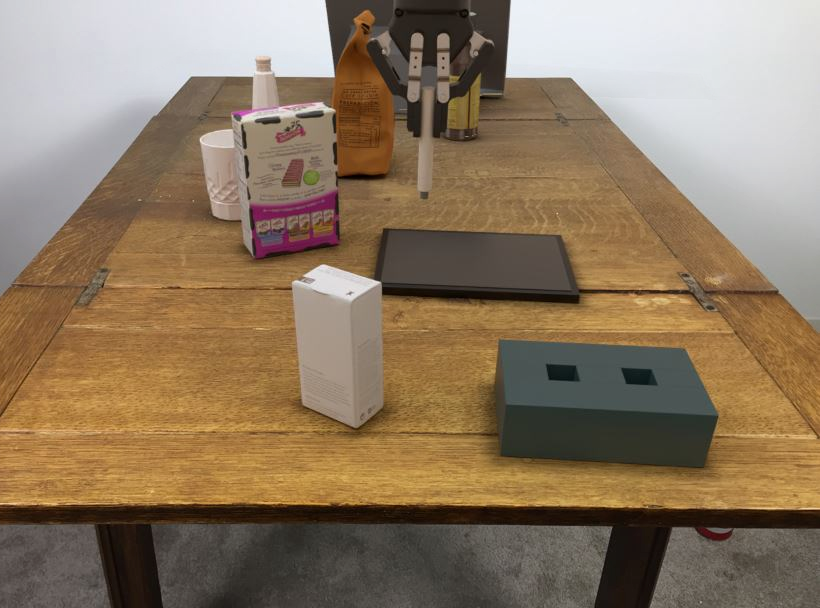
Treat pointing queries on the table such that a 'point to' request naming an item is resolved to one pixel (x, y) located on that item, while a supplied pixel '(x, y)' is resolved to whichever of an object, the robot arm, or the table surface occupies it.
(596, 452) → the pen stand
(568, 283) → the tablet
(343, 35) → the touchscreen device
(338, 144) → the coffee package
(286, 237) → the candy bar box
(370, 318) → the cosmetic box
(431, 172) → the stylus
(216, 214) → the white cup
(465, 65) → the sauce bottle
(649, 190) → the table surface
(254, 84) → the salt shaker
